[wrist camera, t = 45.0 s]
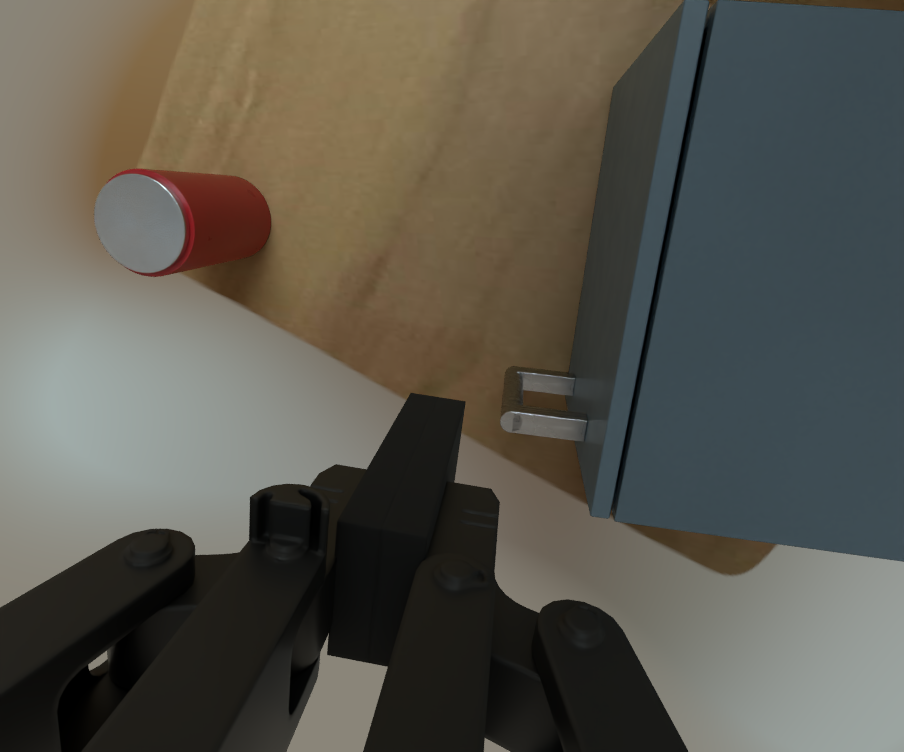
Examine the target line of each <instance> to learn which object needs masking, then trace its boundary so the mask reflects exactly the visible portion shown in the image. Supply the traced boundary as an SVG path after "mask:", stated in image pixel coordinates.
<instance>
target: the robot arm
mask: <svg viewBox="0 0 904 752" xmlns="http://www.w3.org/2000/svg"><path fill="white" fill-rule="evenodd" d="M464 409H465V401H459V400H453V399H446V398H440V397H434V396H427V395H421V394H415V393H411V394H410V395H409V397H408V399H407V401H406V402H405V404H404V406H403V408H402V409H401V411H400V413H399V414H398V416H397V418H396V420H395V421H394V423H393V425H392V427H391V428H390V430H389V432H388V434H387V436H386V437H385V439H384V440H383V442H382V444H381V446H380V447H379V449H378V451H377V453H376V455H375V456H374V458H373V460H372V461H371V463H370V465H369V467H368V469H367V470H366V469H360V468H354V467H348V466H342V465H337V464H336V465H334V466H332V467H330V468H328V469H326V470H325V471H323V472H321V473H319V475H318V476H317V477H316V479H315V480H314V481H313V483H312V484H311V486H310V487H309V486H306V485H299V484H282V485H275V486H271V487H268V488H265V489H262V490H259V491H258V492H257V493H255V494H254V495H252V496H251V497H250V527H249V528H250V529H249V541H248V543H247V544H246V545H245V546H244V548H243V549H242V550H241V551H240V552H239V553H232V554H219V555H195V545H194V543H193V541H192V539H191V537H189V536H187V535H186V534H184V533H182V532H180V531H175V530H170V529H149V530H144V531H140V532H135V533H132V534H130V535H127V536H125V537H123V538H121V539H118V540H116V541H115V542H113V543H111V544H109V545H108V546H106V547H104V548H102V549H101V550H99V551H97V552H95V553H94V554H92V555H90V556H89V557H87V558H85V559H83V560H82V561H80V562H78V563H76V564H75V565H73V566H71V567H70V568H68V569H66V570H65V571H63V572H61V573H59V574H58V575H56V576H54V577H52V578H51V579H49V580H47V581H45V582H44V583H42V584H40V585H39V586H37V587H35V588H33V589H32V590H30V591H28V592H27V593H25V594H23V595H21V596H20V597H18V598H16V599H15V600H13V601H11V602H9V603H7V604H6V605H4V606H2V607H1V608H0V752H286V751H287V749H288V746H289V744H290V741H291V739H292V737H293V735H294V732H295V730H296V728H297V725H298V723H299V720H300V718H301V716H302V713H303V711H304V709H305V706H306V704H307V702H308V699H309V697H310V694H311V692H312V690H313V687H314V685H315V683H316V680H317V677H318V671H319V661H320V651H321V649H322V647H323V645H324V642H325V640H326V638H327V636H328V633H329V637H328V651H327V655H331V656H336V657H341V658H347V659H352V660H356V661H362V662H367V663H372V664H377V665H382V666H388V669H387V672H386V675H385V679H384V683H383V686H382V689H381V693H380V696H379V700H378V703H377V707H376V710H375V713H374V717H373V720H372V723H371V727H370V731H369V734H368V738H367V741H366V744H365V747H364V751H363V752H484V738H486V739H488V740H490V741H492V742H494V743H496V744H498V745H500V746H501V747H503V748H505V749H507V750H509V751H511V752H688V750H687V748H686V746H685V744H684V742H683V741H682V739H681V737H680V735H679V733H678V731H677V730H676V728H675V726H674V724H673V722H672V720H671V718H670V717H669V715H668V713H667V711H666V709H665V708H664V706H663V704H662V702H661V700H660V698H659V696H658V695H657V693H656V691H655V689H654V687H653V686H652V683H651V682H650V680H649V678H648V676H647V675H646V672H645V670H644V669H643V667H642V665H641V663H640V661H639V660H638V657H637V656H636V654H635V652H634V650H633V648H632V646H631V645H630V643H629V641H628V639H627V637H626V635H625V633H624V632H623V630H622V629H621V627H620V626H619V625H618V624H617V622H616V621H615V620H614V619H613V618H612V617H611V616H609V615H608V614H607V613H605V612H604V611H602V610H601V609H599V608H597V607H594V606H592V605H590V604H587V603H585V602H580V601H574V600H560V601H553V602H551V603H549V604H548V605H546V606H544V607H543V608H542V609H541V611H540V613H537V612H535V611H533V610H530V609H528V608H526V607H524V606H522V605H520V604H518V603H516V602H515V601H513V600H512V599H511V598H509V597H508V596H507V595H505V593H504V592H503V591H502V590H501V589H500V588H499V586H498V584H497V582H496V580H495V573H494V569H495V556H496V542H497V528H498V515H499V503H500V502H499V500H498V499H497V497H496V496H495V494H494V493H493V491H492V489H489V488H482V487H477V486H471V485H465V484H459V483H454V480H455V473H456V466H457V459H458V452H459V444H460V437H461V430H462V423H463V416H464ZM106 650H107V655H108V659H107V660H106V661H105V662H104V663H102V664H101V665H100V666H98V667H96V668H94V669H93V670H90V671H89V669H88V664H89V663H91V662H92V661H93V660H95V659H96V658H97V657H99V656H100V655H101V654H103V653H104V652H105V651H106Z"/></svg>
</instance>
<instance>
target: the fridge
mask: <svg viewBox="0 0 904 752" xmlns="http://www.w3.org/2000/svg"><path fill="white" fill-rule="evenodd" d="M611 509H612V514H613V517H614V521H616V522H623V523H630V524H637V525H644V526H651V527H659V528H666V529H673V530H680V531H687V532H695V533H702V534H709V535H716V536H723V537H731V538H738V539H745V540H752V541H759V542H767V543H774V544H782V545H788V546H795V547H802V548H810V549H817V550H824V551H832V552H838V553H846V554H853V555H860V556H868V557H874V558H882V559H889V560H897V561H903V562H904V11H893V10H878V9H862V8H846V7H830V6H814V5H799V4H783V3H767V2H751V1H735V0H717V1H716V3H715V4H714V5H713V6H712V7H711V8H710V9H709V10H708V12H707V17H706V22H705V28H704V33H703V38H702V43H701V48H700V53H699V59H698V64H697V69H696V74H695V79H694V84H693V89H692V95H691V100H690V105H689V110H688V115H687V120H686V126H685V131H684V136H683V141H682V146H681V151H680V156H679V162H678V167H677V172H676V177H675V182H674V187H673V193H672V198H671V203H670V208H669V213H668V218H667V223H666V229H665V234H664V239H663V244H662V249H661V254H660V260H659V265H658V270H657V275H656V280H655V285H654V290H653V296H652V301H651V306H650V311H649V316H648V321H647V327H646V332H645V337H644V342H643V347H642V352H641V357H640V363H639V368H638V373H637V378H636V383H635V388H634V394H633V399H632V404H631V409H630V414H629V419H628V425H627V430H626V435H625V440H624V445H623V450H622V455H621V461H620V466H619V471H618V476H617V481H616V486H615V492H614V497H613V502H612V507H611Z"/></svg>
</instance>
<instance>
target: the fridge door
mask: <svg viewBox="0 0 904 752" xmlns="http://www.w3.org/2000/svg"><path fill="white" fill-rule="evenodd" d="M708 7H709V1H708V0H684V1H683V2H682V4H681V5H680V6H679V7H678V9H677V10H676V11H675V12H674V14H673V15H672V16H671V17H670V18H669V20H668V21H667V22H666V23H665V25H664V26H663V27H662V28H661V29H660V31H659V32H658V33H657V34H656V36H655V37H654V38H653V39H652V41H651V42H650V43H649V44H648V45H647V47H646V48H645V49H644V50H643V52H642V53H641V54H640V55H639V56H638V58H637V59H636V60H635V61H634V63H633V64H632V65H631V66H630V68H629V69H628V70H627V71H626V72H625V74H624V75H623V76H622V77H621V79H620V80H619V81H618V82H617V84H616V85H615V86H614V87H613V92H612V99H611V105H610V112H609V118H608V124H607V131H606V137H605V144H604V150H603V156H602V163H601V169H600V175H599V182H598V188H597V195H596V201H595V207H594V214H593V220H592V227H591V233H590V239H589V246H588V252H587V259H586V265H585V271H584V278H583V284H582V291H581V297H580V303H579V310H578V316H577V323H576V329H575V335H574V342H573V348H572V355H571V361H570V367H569V373H568V372H560V371H551V370H543V369H534V368H526V367H517V366H511V367H509V368H508V369H507V370H506V372H505V378H504V388H503V398H502V407H501V417H500V425H501V427H502V428H503V429H504V430H505V431H507V432H510V433H519V434H527V435H535V436H543V437H551V438H559V439H567V440H574V441H575V445H576V450H577V455H578V459H579V464H580V469H581V474H582V478H583V483H584V488H585V492H586V497H587V502H588V507H589V511H590V515H591V516H592V517H600V518H607V519H608V518H609V517H610V512H611V507H612V502H613V497H614V492H615V486H616V481H617V476H618V471H619V466H620V461H621V455H622V450H623V445H624V440H625V435H626V430H627V425H628V419H629V414H630V409H631V404H632V399H633V394H634V388H635V383H636V378H637V373H638V368H639V363H640V357H641V352H642V347H643V342H644V337H645V332H646V327H647V321H648V316H649V311H650V306H651V301H652V296H653V290H654V285H655V280H656V275H657V270H658V265H659V260H660V254H661V249H662V244H663V239H664V234H665V229H666V223H667V218H668V213H669V208H670V203H671V198H672V193H673V187H674V182H675V177H676V172H677V167H678V162H679V156H680V151H681V146H682V141H683V136H684V131H685V126H686V120H687V115H688V110H689V105H690V100H691V95H692V89H693V84H694V79H695V74H696V69H697V64H698V59H699V53H700V48H701V43H702V38H703V33H704V28H705V22H706V17H707V12H708ZM523 390H528V391H536V392H544V393H553V394H561V395H565V398H566V403H567V408H568V411H565V410H557V409H548V408H540V407H532V406H524V405H523Z"/></svg>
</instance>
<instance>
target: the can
mask: <svg viewBox="0 0 904 752" xmlns="http://www.w3.org/2000/svg"><path fill="white" fill-rule="evenodd" d="M94 222H95V227H96V231H97V234H98V237H99V239H100V241H101V243H102V245H103V246H104V248H105V249H106V251H107V252H108V253H109V254H110V256H112V258H113V259H115V260H116V261H117V262H118V263H120V264H121V265H123V266H124V267H125V268H127V269H129V270H130V271H132V272H135V273H137V274H141V275H144V276H151V277H152V276H153V277H157V276H164V275H169V274H173V273H178V272H183V271H187V270H192V269H197V268H201V267H206V266H211V265H215V264H220V263H225V262H229V261H234V260H239V259H243V258H247V257H250V256H252V255H254V254H255V253H257V252H258V251H259V250H260V249H261V248H262V247H263V246H264V244H265V243H266V241H267V239H268V236H269V233H270V228H271V216H270V211H269V208H268V205H267V203H266V200H265V199H264V197H263V195H262V194H261V193H260V191H259V190H258V189H257V188H256V187H255V186H253V185H252V184H251V183H249V182H248V181H246V180H244V179H242V178H239V177H235V176H228V175H215V174H202V173H189V172H176V171H163V170H150V169H130V170H126V171H122V172H120V173H118V174H116V175H115V176H113V177H112V178H111V179H110V180H109V181H108V182H107V183H106V184H105V186H104V187H103V188H102V190H101V191H100V193H99V195H98V197H97V200H96V203H95V208H94Z"/></svg>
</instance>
